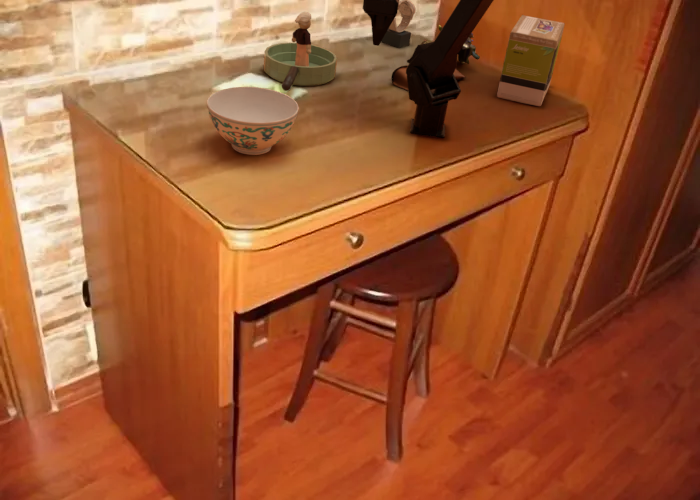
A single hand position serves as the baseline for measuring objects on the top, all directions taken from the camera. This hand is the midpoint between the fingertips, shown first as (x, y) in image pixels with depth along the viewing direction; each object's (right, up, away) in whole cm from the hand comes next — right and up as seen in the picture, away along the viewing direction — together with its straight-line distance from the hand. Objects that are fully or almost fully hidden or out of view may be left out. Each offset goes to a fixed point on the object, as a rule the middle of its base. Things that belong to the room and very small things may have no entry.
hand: (377, 37), depth 141 cm
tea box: (+33, -6, +22) cm, 40 cm away
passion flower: (+18, +3, +32) cm, 36 cm away
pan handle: (-17, -8, +4) cm, 19 cm away
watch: (+6, +10, +41) cm, 43 cm away
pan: (-16, -3, +16) cm, 23 cm away
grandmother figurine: (-16, -3, +16) cm, 23 cm away
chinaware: (-22, -23, -16) cm, 36 cm away
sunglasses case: (+12, -4, +21) cm, 25 cm away
